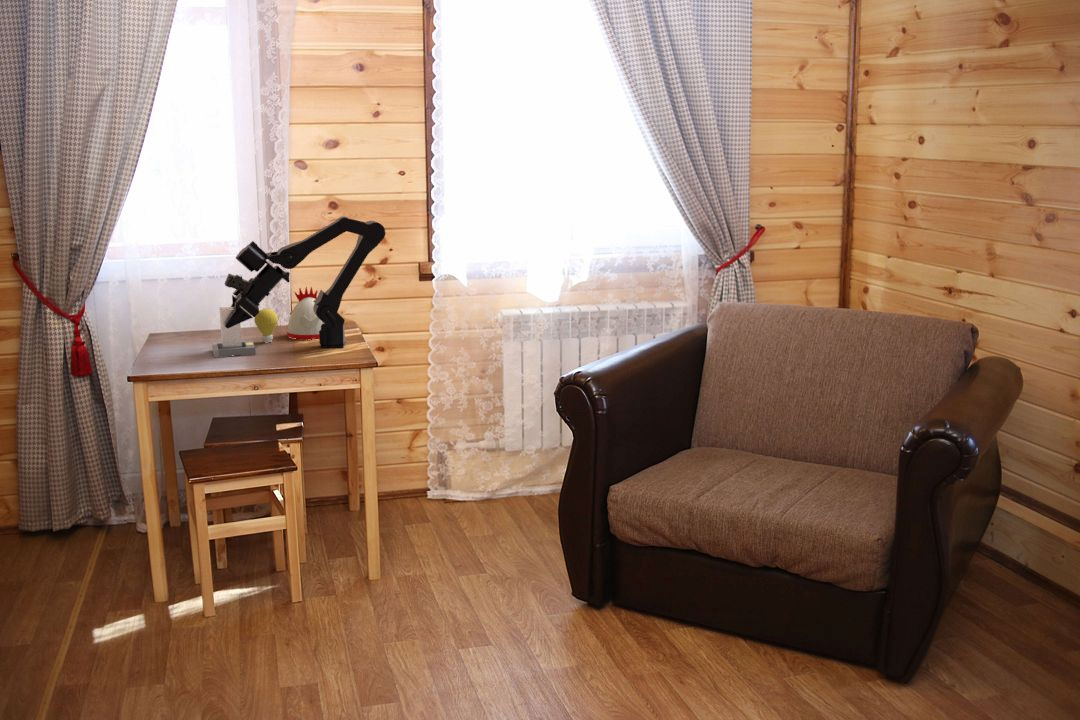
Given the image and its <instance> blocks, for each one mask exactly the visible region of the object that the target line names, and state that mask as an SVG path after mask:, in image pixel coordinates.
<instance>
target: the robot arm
mask: <svg viewBox="0 0 1080 720" xmlns="http://www.w3.org/2000/svg"><path fill="white" fill-rule="evenodd" d="M346 232H347V233H352V234H356V235H358V237H357V240H356V243H355V247H354V248H353V250H352V252H351V253H350V255H349V256H348V258H347V260H346V261H345V263H344V265H343V266H342V268H341V270H340V271H339V273H338V274H337V276H336V277H335V279H334V281H333V283H332V284H331V286H330V287H329V288H328V289H327V290H325V291H323V290H322V289H320V290H319V292H318V294H317V298H316V299H315V300H314V301H313V302H314V303H315V304H314V307H313V310H314V313H315V314H316V316H317V317H318V318H319V319H320V320H321V321H322V322H323V323H324V324H322V325H321V329H320V331H319V345H320V348H323V349H324V348H325V349H326V348H344V347H345V345H346V344H347V341H346V335H345V333H346V332H345V321H346V319H345V318H344V317H343V316H342V315H341V314H340V313H339V309H340V306H341V302H342V299H343V296H344V294H345V292H346V290H347V289H348V287H350V285H351V283H352V281H353V279H354V278H355V276H356V274H357V273H358V271H359V269H360V268H361V267H362V264H363V263H364V261H365V260H366V259H367V257H368V255H369V254H370V253H371V252H373V250H374V249H375V248H376V247H378V245H379V244H380V243H382V241H383V240H384V239H385V236H386V228H385V227H384V225H383V224H381V223H380V222H377V221H375V220H366V221H361V220H357V219H355V218H354V219H353V218H350V217H347V216H344V215H342V216H340V217H338V218H337V219H336V220H334V221H333V222H331V223H329V224H328V225H326V226H324V227H323V228H321V229H319V230H318V231H316V232H314V233H313V234H311V235H309V236H308V237H306V238H304V239H302V240H299V241H296V242H292V243H289V244H287V245H285V246H281V247H280V248H279V249H278V250H277V251H273V252H272V251H271V252H265V251H264V250H263V249H261V247H259V246H258V243H256V242H255V241H253V240H252V241H251V242H250V243H248V244H247V245H246V246H245V247H243V248H242V249H241V250H240V251H239V252H238V254H236V256H235V259H236V260H237V261H238V262H239V263H240V264H242V266H243V267H245V268H246V269H247V270H248V271H249V272H250V273H252V272H253V271H254V272H257V274H256V275H255V277H252V278H249V280H246V279H245V278H243V277H242V276H240V275H238V274H236V275H234V274H232V273H227V276H226V279H225V281H224V286H225V287H227V288H230V289H234V290H233V292H232V295H231V300H232V301H231V302H232V303H231V305H230V307H235V311H234V312H233V314H232V315H231V317H230V318H229V320H228V321H227V323H226V325H225V327H226V328H230V327H232V326H235V325H237V324H239V323H240V324H241V323H243V322H246V321H248V320H250V319H253V318H255V316H256V315H257V314H258V313H259V311H260V303H261V302H262V301H263V300H264V299H265V298H266V297H269V295H271V294H270V292H272V290H273V289H275V287H276V286H277V285H278V284H279V283H280V281H282V279H283V280H284V281H286V282H287V283H290V274H291V273H290V272H289V271H285V270H286V269H287V270H291V269H294V268H295V267H297V266H298V265H299V264H301V263H302V262H303V261H304V260H305V259H306V258H307V257H308V256H309V255H310V254H312V253H313V252H314V251H316V250H317V249H318V248H320V247H322V246H324V245H325V244H327V243H329V242H331V241H333V240H334V239H336V238H337V237H339V236H340V235H343V234H344V233H346ZM267 260H268V261H267ZM269 261H270V262H271V263H272V264H276V265H275V266H273V265H272V264H271V263H270V262H269ZM279 265H280V266H279ZM283 268H284V269H285V270H283Z"/></svg>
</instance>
